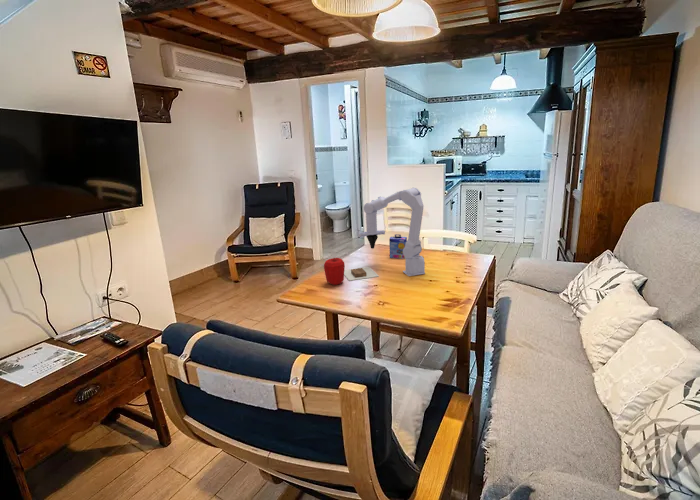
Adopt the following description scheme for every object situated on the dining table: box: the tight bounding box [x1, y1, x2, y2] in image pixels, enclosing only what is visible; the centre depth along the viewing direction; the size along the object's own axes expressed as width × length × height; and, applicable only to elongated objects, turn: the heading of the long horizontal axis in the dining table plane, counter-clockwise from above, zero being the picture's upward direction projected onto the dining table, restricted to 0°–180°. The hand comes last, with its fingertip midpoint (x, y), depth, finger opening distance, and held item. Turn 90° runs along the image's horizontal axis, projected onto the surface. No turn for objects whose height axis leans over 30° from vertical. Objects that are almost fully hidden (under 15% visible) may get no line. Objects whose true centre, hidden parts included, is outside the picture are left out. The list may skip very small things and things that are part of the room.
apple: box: [323, 257, 346, 286], centre depth 191 cm, size 11×10×14 cm
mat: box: [344, 266, 380, 282], centre depth 204 cm, size 16×16×1 cm
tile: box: [351, 267, 367, 278], centre depth 202 cm, size 2×8×6 cm
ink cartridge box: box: [388, 234, 408, 260], centre depth 227 cm, size 10×6×14 cm, turn 74°
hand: (372, 248), depth 213 cm, fingers closed
